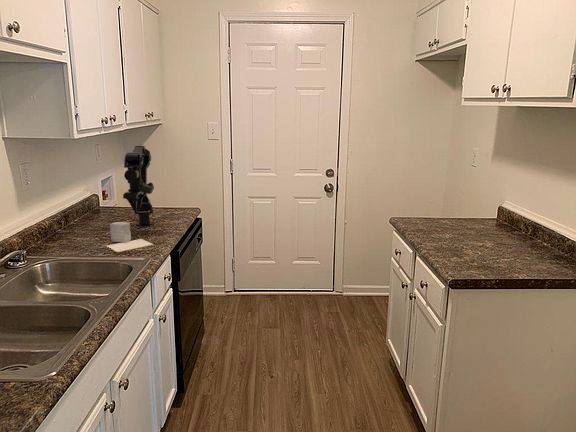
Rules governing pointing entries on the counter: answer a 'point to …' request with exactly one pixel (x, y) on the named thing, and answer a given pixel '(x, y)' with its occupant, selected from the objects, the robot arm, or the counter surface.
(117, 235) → the medicine box
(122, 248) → the pale rubber mat
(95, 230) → the counter surface
